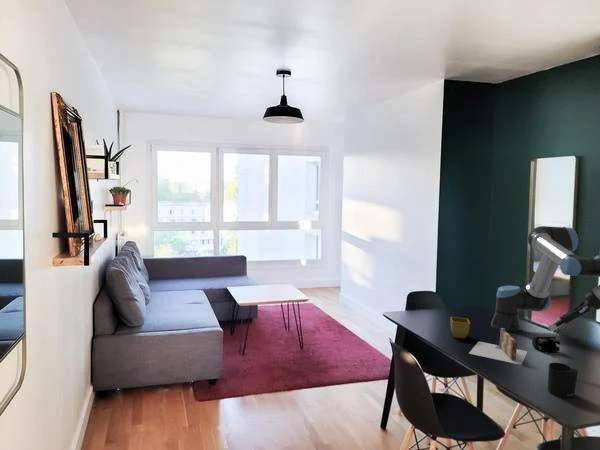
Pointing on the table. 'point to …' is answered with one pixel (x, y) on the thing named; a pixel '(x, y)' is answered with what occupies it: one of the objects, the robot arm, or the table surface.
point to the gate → (508, 344)
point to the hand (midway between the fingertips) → (549, 329)
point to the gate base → (497, 353)
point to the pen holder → (562, 380)
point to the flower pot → (459, 327)
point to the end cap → (546, 344)
